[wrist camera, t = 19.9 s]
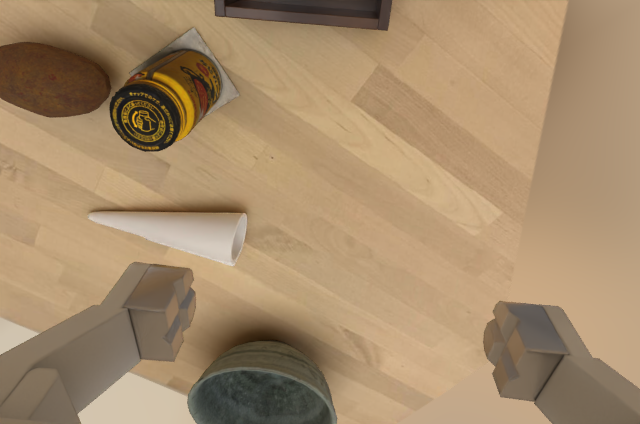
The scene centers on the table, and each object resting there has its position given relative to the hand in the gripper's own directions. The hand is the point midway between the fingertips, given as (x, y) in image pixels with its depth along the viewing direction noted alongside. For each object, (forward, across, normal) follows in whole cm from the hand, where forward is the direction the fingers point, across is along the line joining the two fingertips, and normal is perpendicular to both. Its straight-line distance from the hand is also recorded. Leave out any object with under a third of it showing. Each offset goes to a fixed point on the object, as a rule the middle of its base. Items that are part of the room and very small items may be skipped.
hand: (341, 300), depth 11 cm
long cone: (+32, +20, +20) cm, 43 cm away
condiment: (+32, +16, +4) cm, 36 cm away
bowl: (+33, +6, +46) cm, 57 cm away
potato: (+32, +28, +4) cm, 43 cm away
